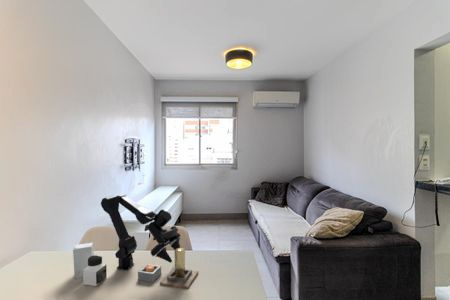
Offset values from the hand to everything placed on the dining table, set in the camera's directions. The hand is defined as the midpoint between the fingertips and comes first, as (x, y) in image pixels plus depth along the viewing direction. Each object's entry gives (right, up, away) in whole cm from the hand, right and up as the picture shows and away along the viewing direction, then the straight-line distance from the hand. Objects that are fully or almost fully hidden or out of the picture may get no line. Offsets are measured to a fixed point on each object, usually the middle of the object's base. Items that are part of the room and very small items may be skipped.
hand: (176, 257), depth 121 cm
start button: (-13, -8, +1) cm, 16 cm away
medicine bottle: (-38, -10, -3) cm, 40 cm away
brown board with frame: (+2, -10, 0) cm, 10 cm away
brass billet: (+1, -9, 0) cm, 9 cm away
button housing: (-14, -10, +1) cm, 17 cm away
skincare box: (-47, -10, +3) cm, 48 cm away
